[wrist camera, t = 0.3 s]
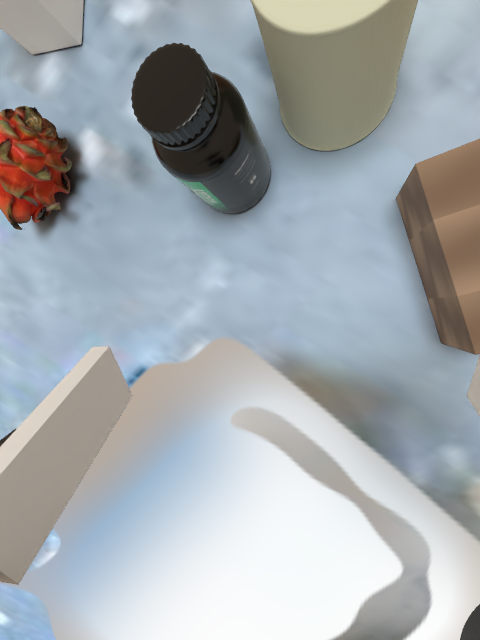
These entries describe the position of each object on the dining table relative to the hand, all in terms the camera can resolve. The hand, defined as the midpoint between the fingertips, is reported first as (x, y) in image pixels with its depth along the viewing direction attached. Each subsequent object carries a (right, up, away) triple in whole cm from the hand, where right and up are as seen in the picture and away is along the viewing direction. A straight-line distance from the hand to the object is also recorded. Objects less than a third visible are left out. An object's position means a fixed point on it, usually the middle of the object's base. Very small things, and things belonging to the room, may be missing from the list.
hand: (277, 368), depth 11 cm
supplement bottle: (-2, +15, +17) cm, 23 cm away
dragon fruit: (-22, +17, +23) cm, 37 cm away
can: (+7, +21, +14) cm, 26 cm away
